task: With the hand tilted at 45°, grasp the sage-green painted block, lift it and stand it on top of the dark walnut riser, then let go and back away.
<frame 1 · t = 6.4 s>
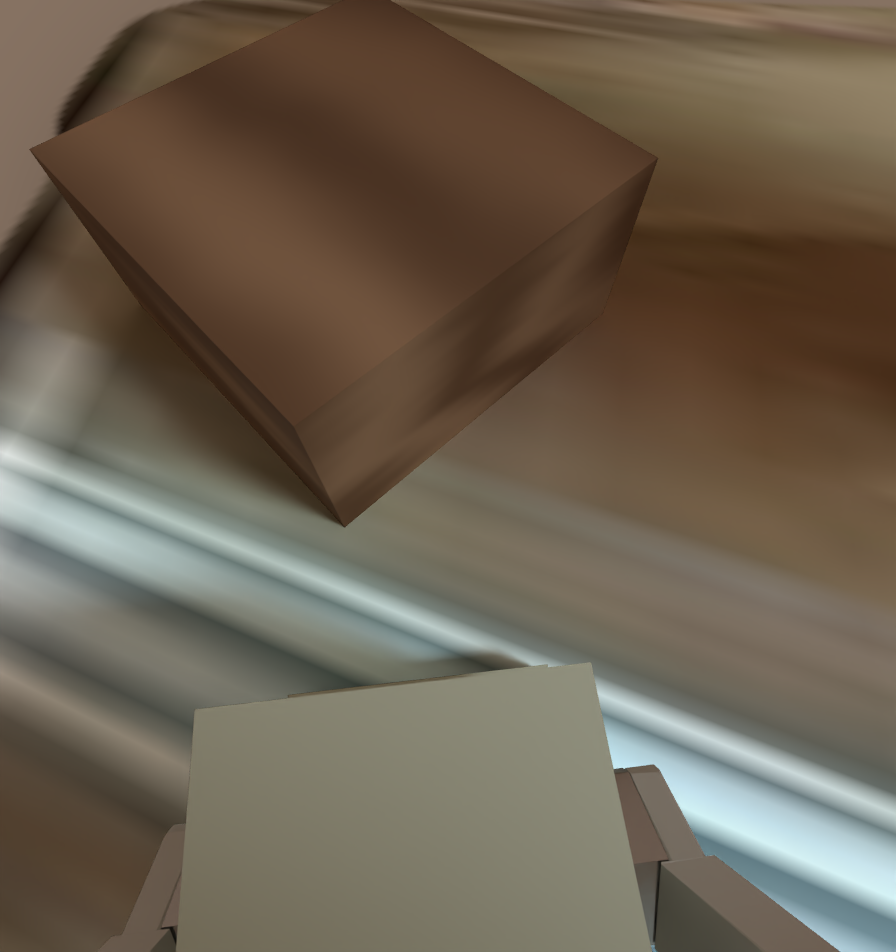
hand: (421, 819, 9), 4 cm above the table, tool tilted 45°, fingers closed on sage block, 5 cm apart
sage block: (433, 825, 13), on the table, touching gripper
walnut riser: (370, 309, 20), on the table
when the fingers open (11 cm above the table, at t = 12.9 s): sage block drops 1 cm, point 6 cm above the table.
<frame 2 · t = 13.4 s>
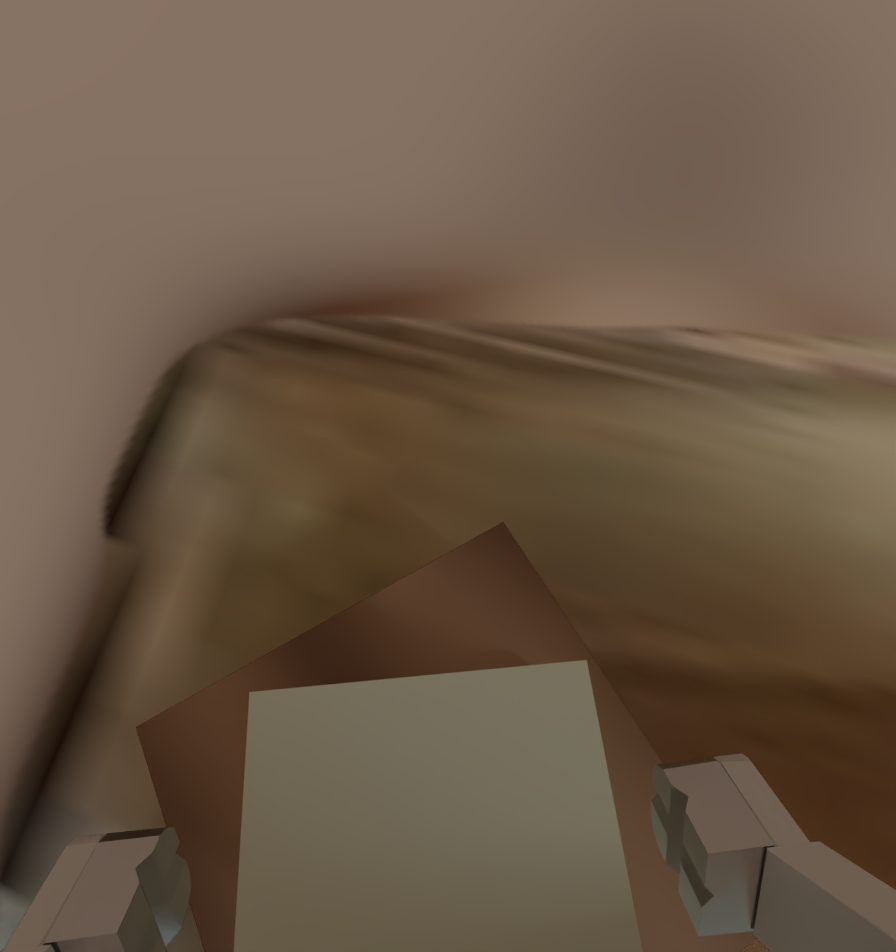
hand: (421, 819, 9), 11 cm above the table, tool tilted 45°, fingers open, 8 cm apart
sage block: (437, 812, 14), point 6 cm above the table
walnut riser: (436, 797, 20), on the table
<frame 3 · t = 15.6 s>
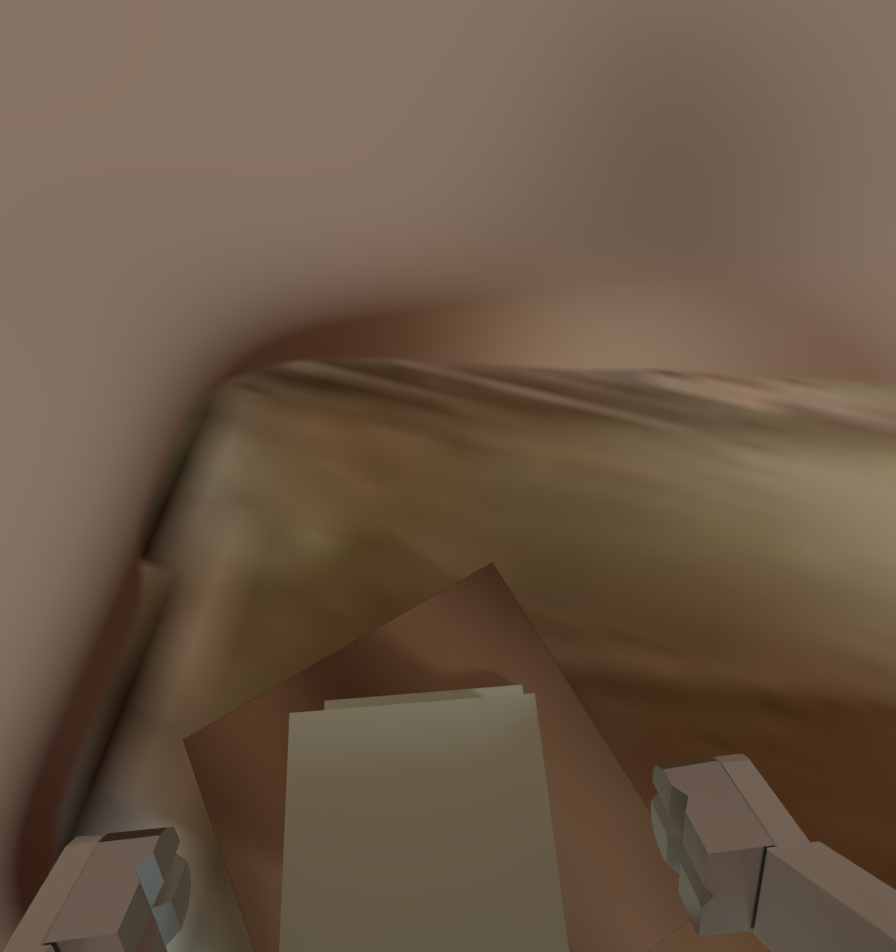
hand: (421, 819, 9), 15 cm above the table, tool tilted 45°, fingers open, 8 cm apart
sage block: (430, 803, 17), point 6 cm above the table
walnut riser: (435, 798, 23), on the table
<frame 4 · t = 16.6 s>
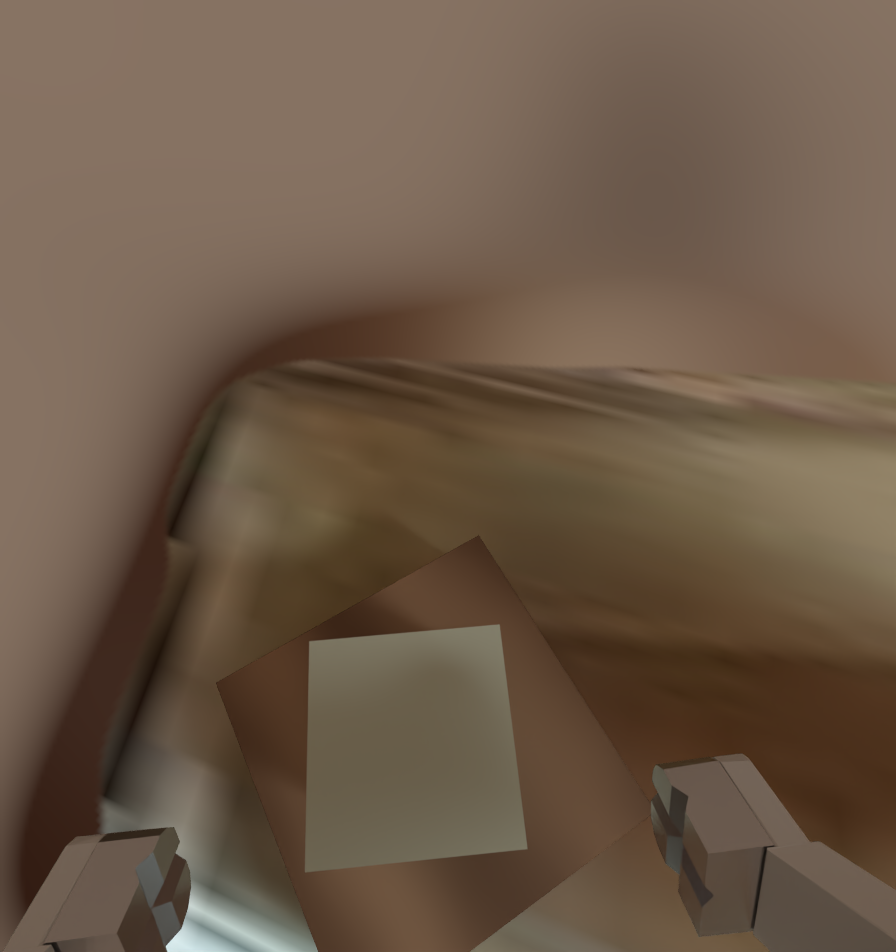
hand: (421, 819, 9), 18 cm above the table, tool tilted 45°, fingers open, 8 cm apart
sage block: (423, 737, 21), point 6 cm above the table, touching walnut riser
walnut riser: (430, 743, 26), on the table, touching sage block
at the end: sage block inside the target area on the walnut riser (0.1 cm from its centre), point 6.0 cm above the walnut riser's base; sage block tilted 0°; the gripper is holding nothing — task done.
